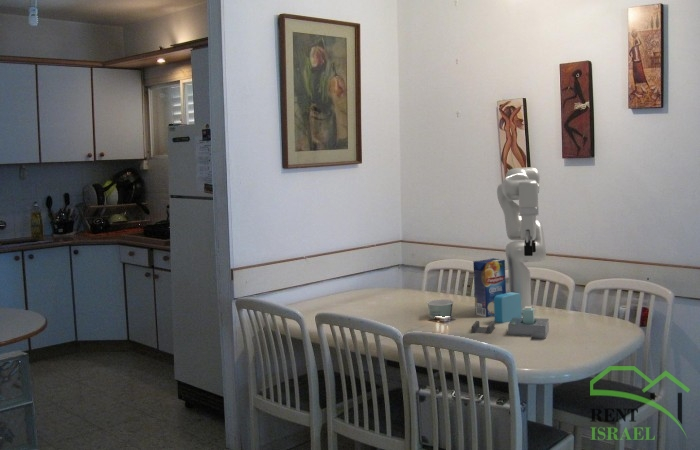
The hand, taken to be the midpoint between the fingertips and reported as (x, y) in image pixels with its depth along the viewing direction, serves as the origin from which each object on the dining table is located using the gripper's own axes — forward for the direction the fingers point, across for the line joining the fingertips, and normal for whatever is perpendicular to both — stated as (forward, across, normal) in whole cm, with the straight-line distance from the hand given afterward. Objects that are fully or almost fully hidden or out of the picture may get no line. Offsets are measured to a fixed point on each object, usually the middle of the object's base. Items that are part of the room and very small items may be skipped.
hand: (530, 253), depth 294 cm
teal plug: (+30, +11, 0) cm, 32 cm away
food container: (+31, -15, -42) cm, 54 cm away
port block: (+30, +11, 0) cm, 32 cm away
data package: (+31, -8, -11) cm, 33 cm away
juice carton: (+31, -23, -21) cm, 44 cm away
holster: (+30, +11, -18) cm, 37 cm away
